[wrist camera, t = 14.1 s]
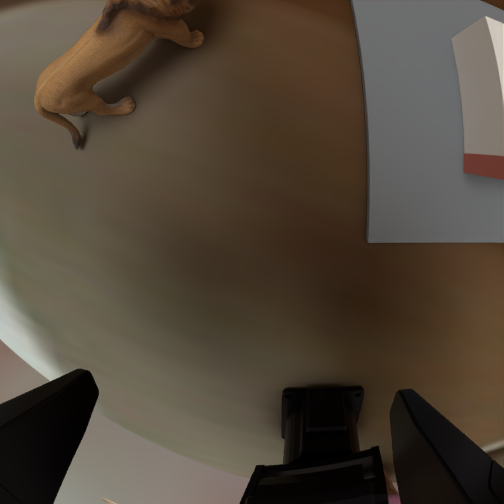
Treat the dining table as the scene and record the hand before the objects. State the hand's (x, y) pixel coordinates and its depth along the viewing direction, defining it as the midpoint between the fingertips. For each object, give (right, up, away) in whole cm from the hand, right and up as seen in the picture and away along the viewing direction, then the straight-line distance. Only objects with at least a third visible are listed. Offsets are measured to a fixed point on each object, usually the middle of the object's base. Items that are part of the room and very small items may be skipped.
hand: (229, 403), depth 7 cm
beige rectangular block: (+16, +13, +5) cm, 21 cm away
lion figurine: (-6, +17, +8) cm, 20 cm away
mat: (+16, +13, +6) cm, 22 cm away
